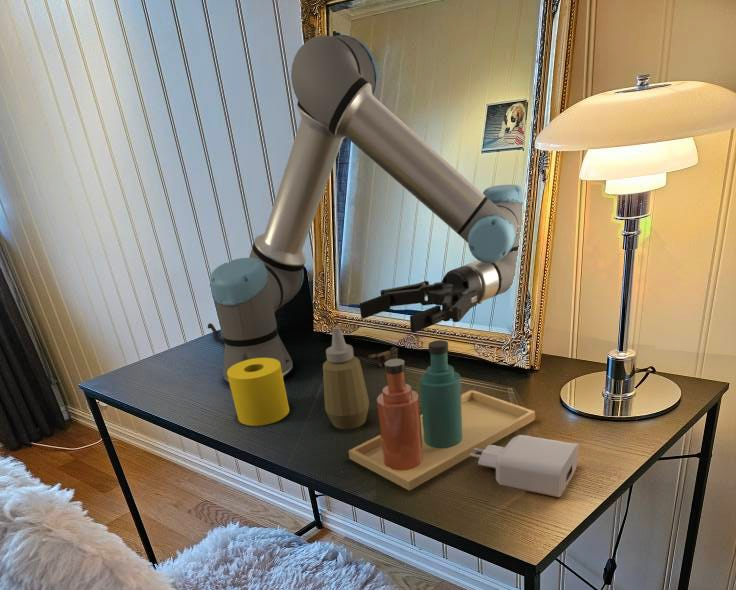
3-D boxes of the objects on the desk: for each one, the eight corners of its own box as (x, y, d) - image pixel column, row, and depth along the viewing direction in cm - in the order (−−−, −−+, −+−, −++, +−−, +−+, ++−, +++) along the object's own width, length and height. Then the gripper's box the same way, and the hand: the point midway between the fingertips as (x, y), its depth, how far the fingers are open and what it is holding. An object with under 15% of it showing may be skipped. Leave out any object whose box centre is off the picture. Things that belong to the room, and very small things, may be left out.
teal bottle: (416, 440, 109) (408, 345, 100) (443, 426, 113) (438, 333, 103) (443, 452, 105) (438, 354, 96) (470, 437, 108) (468, 341, 99)
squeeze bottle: (366, 434, 114) (354, 335, 104) (322, 434, 116) (306, 337, 106) (375, 413, 121) (364, 318, 111) (333, 414, 123) (319, 320, 113)
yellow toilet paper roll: (268, 398, 132) (259, 354, 127) (299, 410, 126) (291, 364, 120) (228, 417, 127) (216, 371, 121) (258, 430, 120) (247, 383, 115)
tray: (349, 461, 107) (348, 450, 106) (471, 399, 121) (471, 389, 120) (409, 493, 97) (408, 481, 96) (535, 422, 111) (535, 411, 110)
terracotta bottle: (375, 461, 105) (364, 364, 96) (404, 446, 108) (396, 351, 99) (401, 474, 101) (392, 374, 92) (431, 458, 104) (425, 360, 95)
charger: (483, 451, 105) (577, 468, 98) (460, 480, 99) (558, 500, 92) (483, 425, 102) (579, 441, 95) (459, 453, 96) (560, 472, 89)
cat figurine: (399, 367, 137) (393, 349, 135) (367, 371, 141) (362, 353, 139) (405, 362, 139) (400, 344, 137) (374, 366, 143) (369, 348, 141)
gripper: (520, 315, 118) (436, 352, 108) (425, 295, 135) (345, 325, 125) (520, 273, 114) (434, 308, 104) (422, 258, 131) (340, 286, 121)
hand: (385, 317), depth 114 cm, fingers open, 13 cm apart
